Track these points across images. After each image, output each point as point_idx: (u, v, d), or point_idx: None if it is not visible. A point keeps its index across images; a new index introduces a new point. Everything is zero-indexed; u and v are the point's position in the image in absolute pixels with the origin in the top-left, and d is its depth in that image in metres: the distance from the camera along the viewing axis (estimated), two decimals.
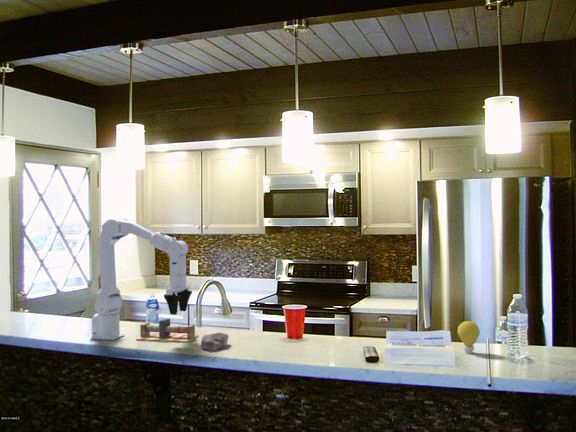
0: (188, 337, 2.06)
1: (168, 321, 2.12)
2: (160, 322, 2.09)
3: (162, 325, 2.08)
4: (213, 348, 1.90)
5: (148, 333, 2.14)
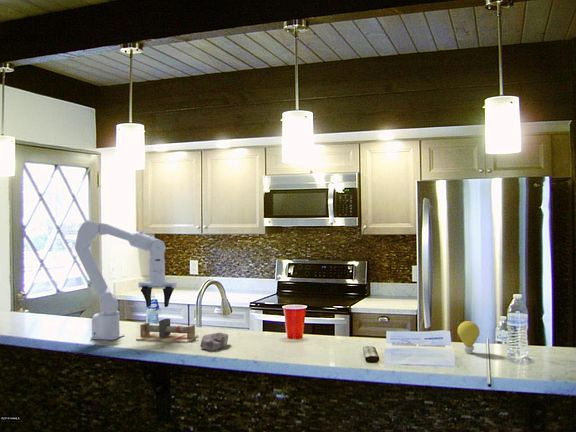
0: (188, 337, 2.06)
1: (168, 321, 2.12)
2: (160, 322, 2.09)
3: (162, 325, 2.08)
4: (213, 348, 1.90)
5: (148, 333, 2.14)
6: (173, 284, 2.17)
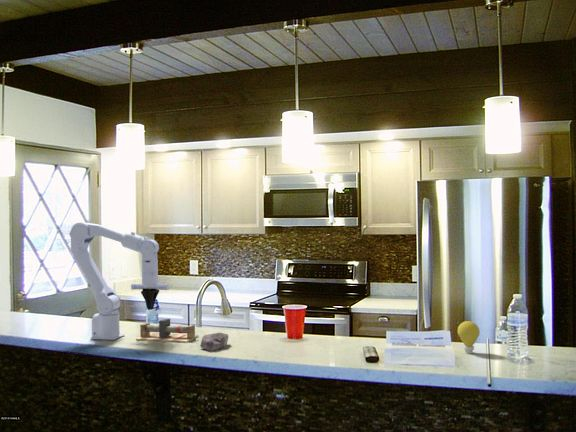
0: (188, 337, 2.06)
1: (168, 321, 2.12)
2: (160, 322, 2.09)
3: (162, 325, 2.08)
4: (213, 348, 1.90)
5: (148, 333, 2.14)
6: (166, 286, 2.10)
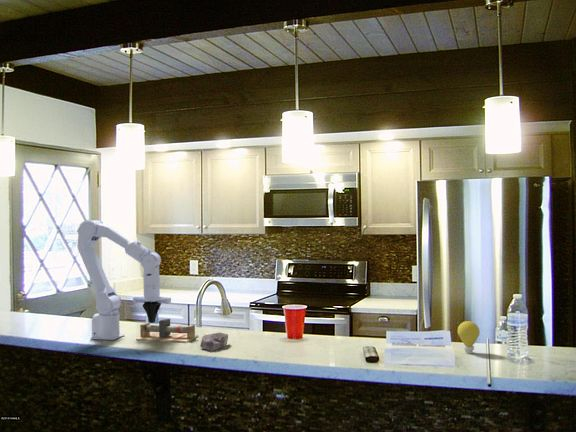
0: (188, 337, 2.06)
1: (168, 321, 2.12)
2: (160, 322, 2.09)
3: (162, 325, 2.08)
4: (213, 348, 1.90)
5: (148, 333, 2.14)
6: (167, 300, 2.10)
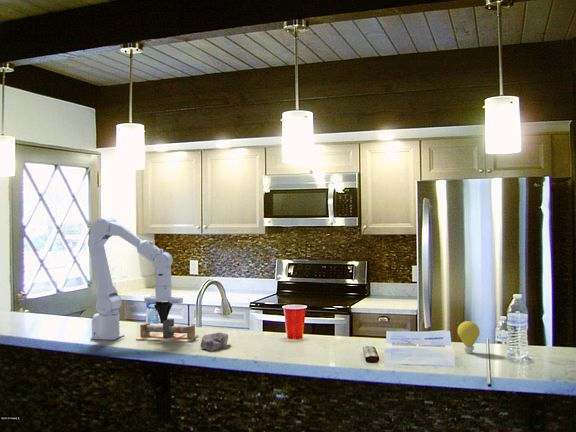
0: (188, 337, 2.06)
1: (172, 321, 2.12)
2: (164, 322, 2.08)
3: (166, 325, 2.08)
4: (213, 348, 1.90)
5: (148, 333, 2.14)
6: (179, 300, 2.08)
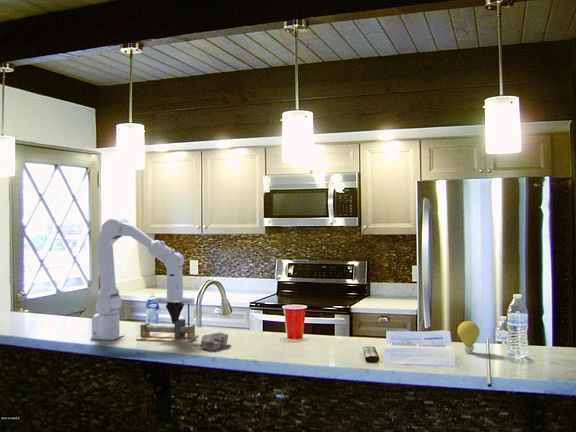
0: (188, 337, 2.06)
1: (183, 322, 2.10)
2: (175, 323, 2.07)
3: (177, 326, 2.07)
4: (213, 348, 1.90)
5: (148, 333, 2.14)
6: (191, 300, 2.07)
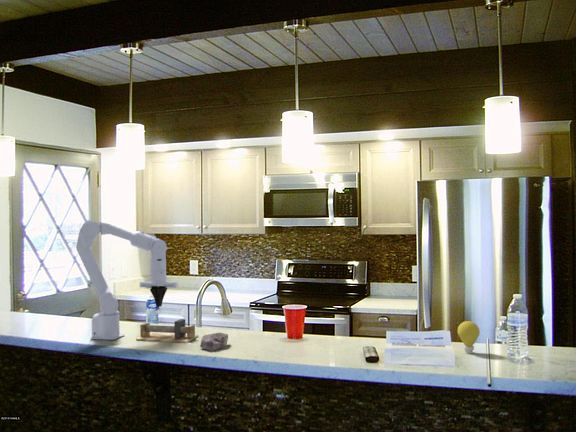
0: (188, 337, 2.06)
1: (183, 322, 2.10)
2: (175, 323, 2.07)
3: (177, 326, 2.07)
4: (213, 348, 1.91)
5: (148, 333, 2.14)
6: (174, 284, 2.18)
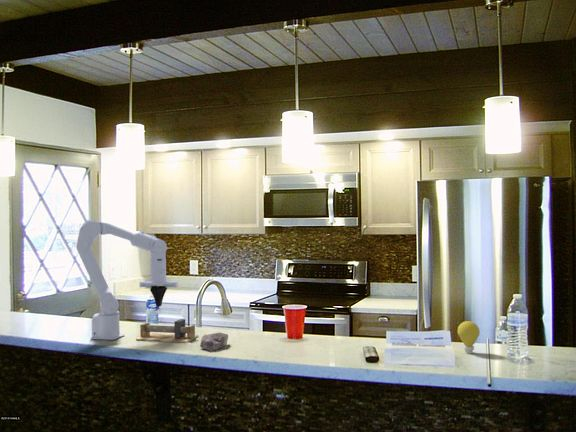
0: (188, 337, 2.06)
1: (183, 322, 2.10)
2: (175, 323, 2.07)
3: (177, 326, 2.07)
4: (213, 348, 1.91)
5: (148, 333, 2.14)
6: (175, 284, 2.19)
